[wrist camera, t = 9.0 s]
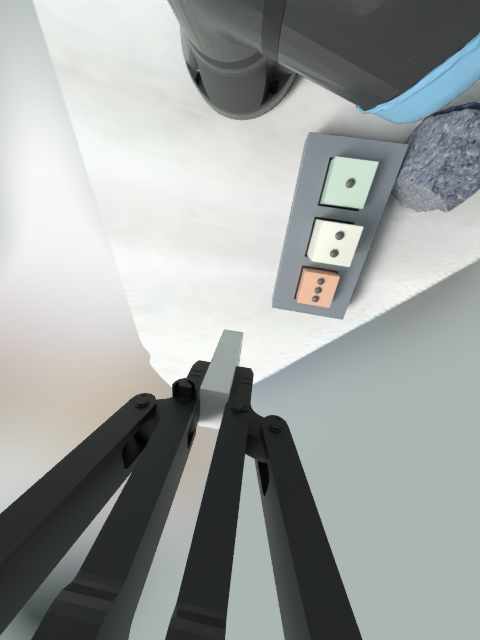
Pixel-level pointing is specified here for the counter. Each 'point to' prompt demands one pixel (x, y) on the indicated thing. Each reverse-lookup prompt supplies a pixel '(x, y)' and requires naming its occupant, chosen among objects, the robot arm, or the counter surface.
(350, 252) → the tile two
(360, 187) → the tile one
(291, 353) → the counter surface
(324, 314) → the key board
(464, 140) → the stone
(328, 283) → the tile three
